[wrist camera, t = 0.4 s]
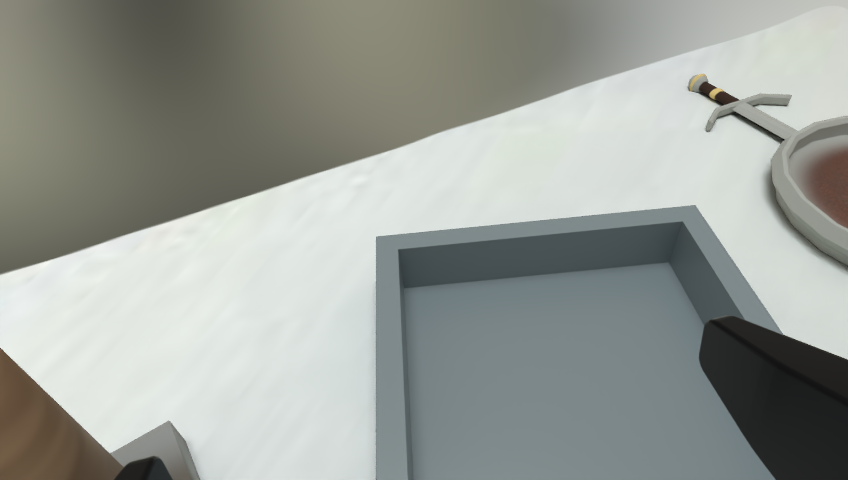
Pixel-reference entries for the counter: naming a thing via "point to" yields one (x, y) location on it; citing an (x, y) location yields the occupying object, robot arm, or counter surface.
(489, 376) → the tray
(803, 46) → the counter surface
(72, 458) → the brown post on plinth
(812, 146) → the frying pan
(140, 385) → the counter surface
